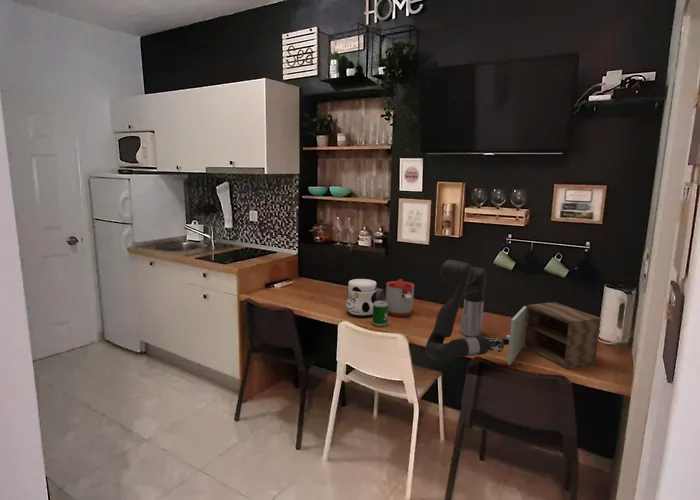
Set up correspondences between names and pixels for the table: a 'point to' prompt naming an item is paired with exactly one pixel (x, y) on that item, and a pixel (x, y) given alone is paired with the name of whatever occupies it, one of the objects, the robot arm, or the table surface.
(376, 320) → the soda can
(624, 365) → the table surface
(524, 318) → the sage door
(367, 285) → the milk container
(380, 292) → the bluetooth speaker
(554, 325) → the walnut cabinet
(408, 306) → the citrus juicer
